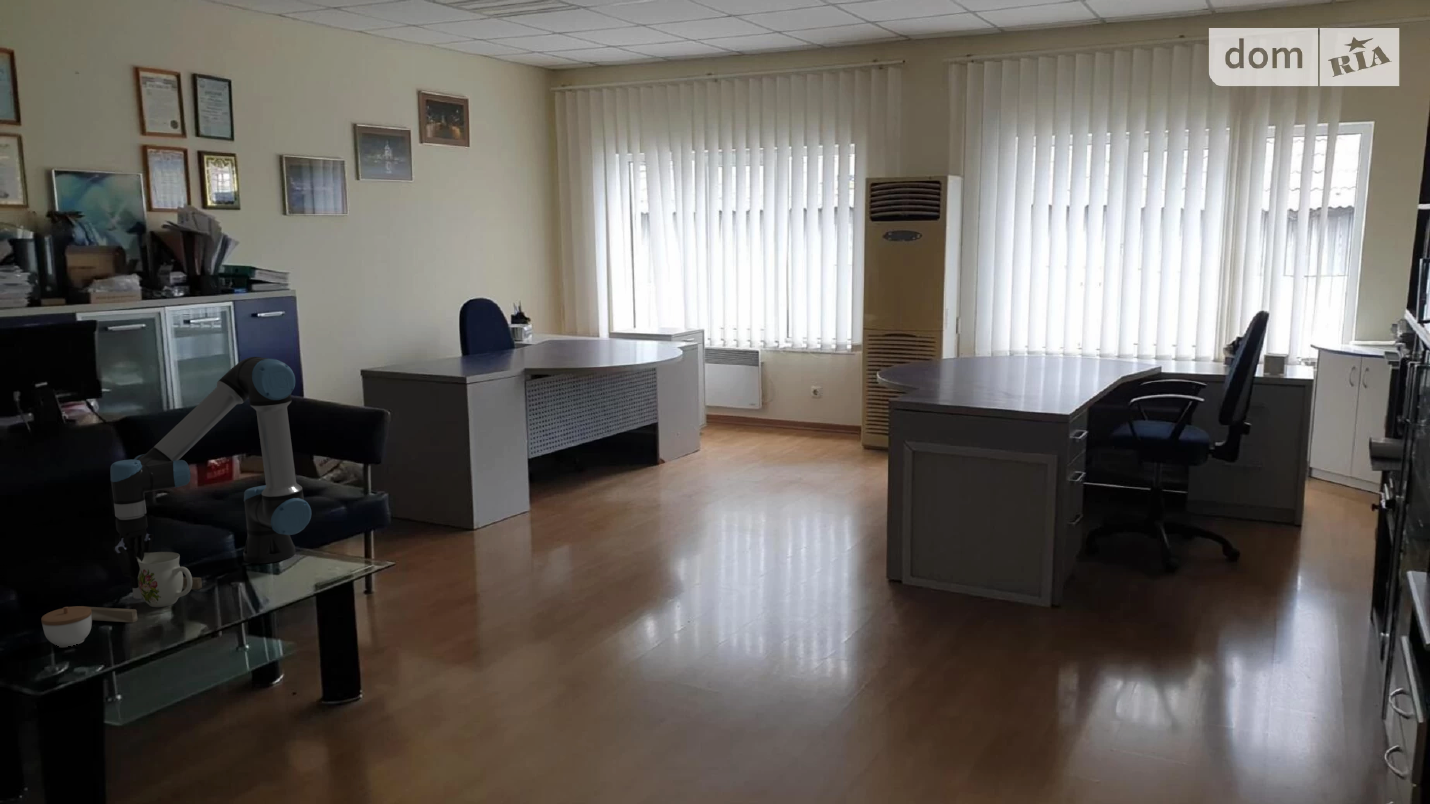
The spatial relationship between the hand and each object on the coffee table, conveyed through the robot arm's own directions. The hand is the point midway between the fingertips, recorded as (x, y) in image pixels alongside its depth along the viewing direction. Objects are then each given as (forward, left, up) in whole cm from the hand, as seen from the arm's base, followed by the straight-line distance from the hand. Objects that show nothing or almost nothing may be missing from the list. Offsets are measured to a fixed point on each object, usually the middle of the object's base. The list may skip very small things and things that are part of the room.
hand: (139, 597), depth 284 cm
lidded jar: (+28, +3, -2) cm, 28 cm away
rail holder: (0, +2, -2) cm, 2 cm away
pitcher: (0, +8, -2) cm, 8 cm away
